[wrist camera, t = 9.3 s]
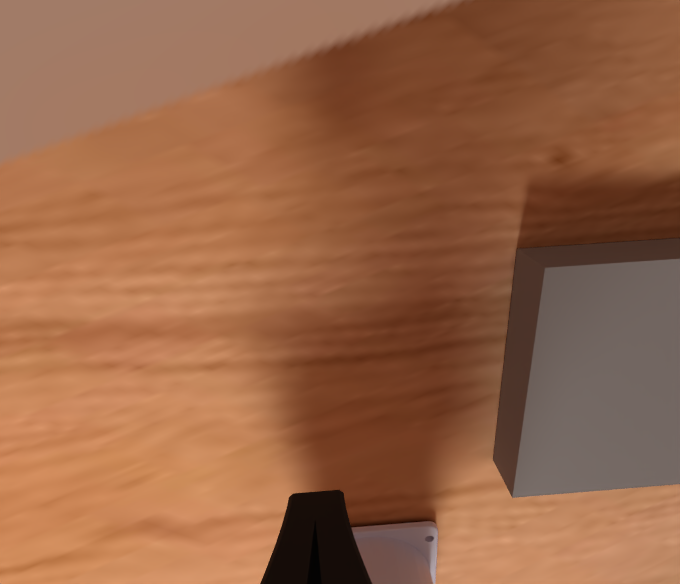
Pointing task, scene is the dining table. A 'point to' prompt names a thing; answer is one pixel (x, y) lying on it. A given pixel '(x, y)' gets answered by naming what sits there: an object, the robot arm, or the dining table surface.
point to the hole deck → (592, 369)
